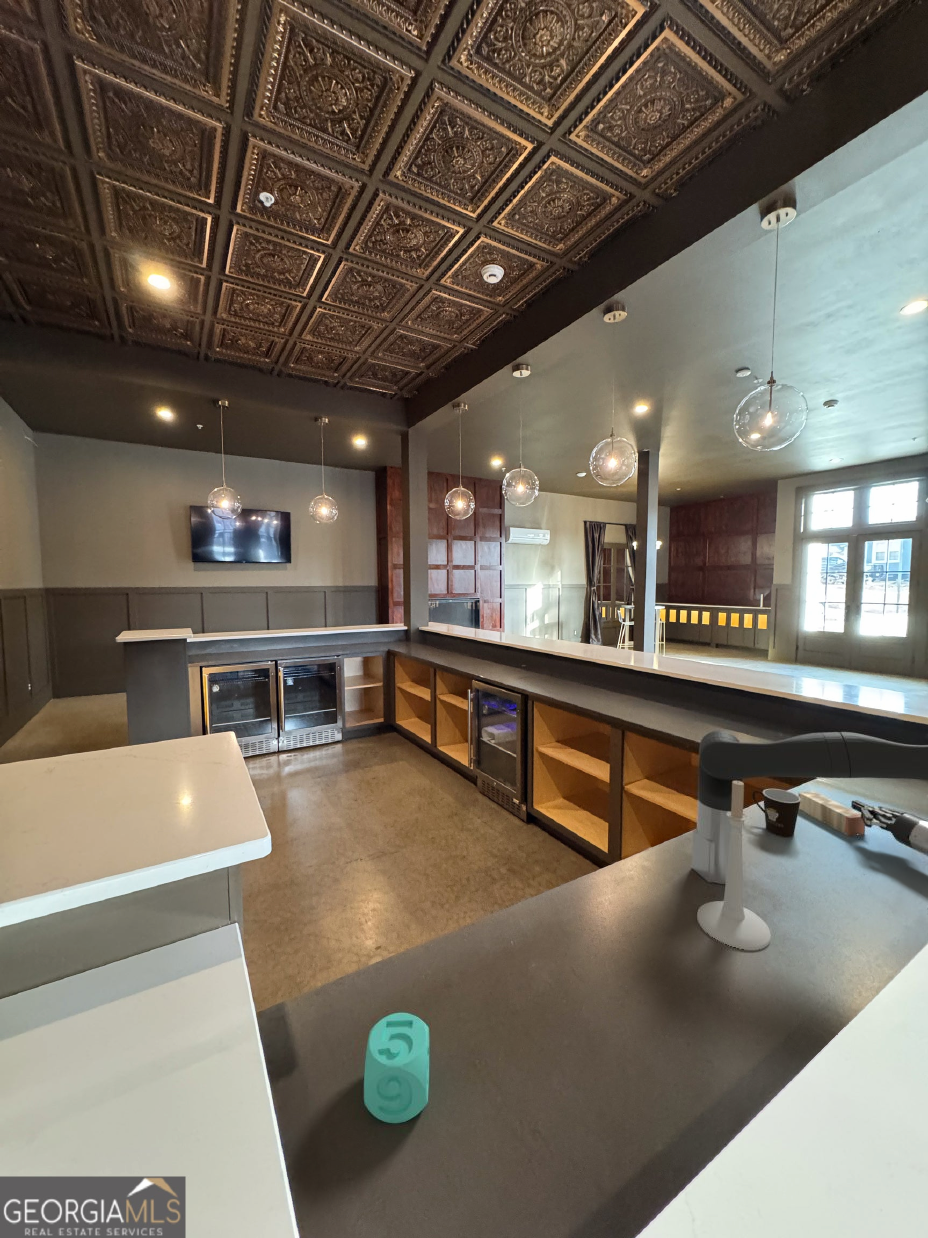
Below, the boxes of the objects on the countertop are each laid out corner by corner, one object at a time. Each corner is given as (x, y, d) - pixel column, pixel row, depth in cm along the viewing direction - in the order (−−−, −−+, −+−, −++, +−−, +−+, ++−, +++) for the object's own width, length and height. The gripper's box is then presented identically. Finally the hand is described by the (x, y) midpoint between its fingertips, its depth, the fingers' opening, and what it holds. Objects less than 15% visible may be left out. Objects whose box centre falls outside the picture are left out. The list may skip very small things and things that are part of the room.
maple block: (850, 818, 130) (798, 792, 145) (849, 836, 130) (797, 808, 146) (865, 816, 130) (812, 791, 146) (864, 834, 131) (811, 807, 147)
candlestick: (782, 955, 89) (789, 797, 87) (707, 945, 92) (712, 791, 90) (755, 909, 102) (761, 769, 99) (690, 901, 104) (694, 765, 102)
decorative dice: (429, 1061, 70) (428, 1010, 70) (427, 1123, 62) (426, 1066, 62) (374, 1064, 70) (372, 1012, 69) (364, 1126, 62) (362, 1068, 61)
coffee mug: (806, 839, 128) (808, 802, 128) (773, 839, 129) (775, 802, 128) (779, 817, 140) (780, 784, 139) (748, 817, 140) (750, 784, 139)
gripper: (948, 819, 115) (874, 788, 132) (902, 824, 113) (833, 792, 130) (946, 849, 116) (873, 814, 133) (900, 855, 113) (832, 819, 130)
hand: (853, 803), depth 131 cm, fingers closed
